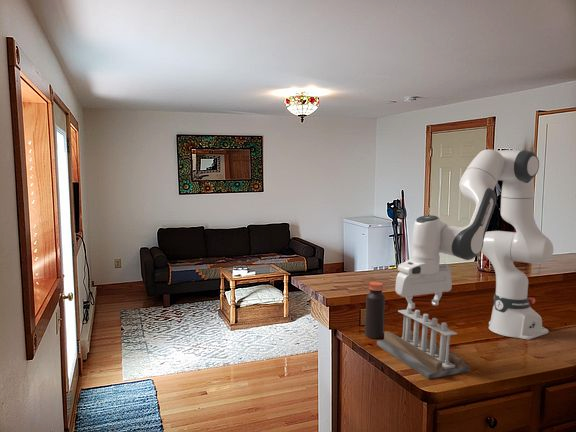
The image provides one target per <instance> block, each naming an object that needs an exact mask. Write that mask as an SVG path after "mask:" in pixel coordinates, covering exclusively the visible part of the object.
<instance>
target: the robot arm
mask: <svg viewBox="0 0 576 432" xmlns="http://www.w3.org/2000/svg"><path fill="white" fill-rule="evenodd" d="M539 169H540V161H539V157H538V156H537V155H536V153H535V152H533V151H530V150H525V149H524V150H517V149H503V150H498V149H497V150H495V149H492V148H489V149H487V148H486V149H484V150H481V151H479V153H477V155H476V156H475V157H474V158H473V159H472V161H471V162H470V163H469V165H468V166H467V168H466V169H465V170H464V173H463V174H462V176H461V178H460V179H459V183H458V184H459V187H458V188H459V190H460V192H461V194H462V195H463V197H464V198H465V199H466V200H468V201H469V202H470V203H472V204H474V205H475V208H474V211H473V214H472V217H471V218H470V222H469V224H467V225H465V226H458V225H457V226H456V225H451V224H447V223H445V222H443V221H442V220H440V217H439V216H436V215H421V216H418V217H417V218H416V219H415V221H414V224H413V227H412V234H411V235H412V236H411V243H412V244H411V245H412V252H411V258H409V259H408V260H407V259H406V260H405V261H404V262H402V263H399V264H397V265H398V266H397V270H398V271H399V272H398V273H397V275H396V278H395V286H394V287H395V288H394V289H395V293H396V295H398V296H399V297H402V298H404V297H405V299H406V301H407V306H408V308H410V309H412V310H413V309H415V308H416V303H415V302H413V300H412V299H414V298H413V297H414V296H421V295H422V296H423V295H429V294H430V295H431V294H434V296H433V299H431V305H432V306H435V307H436V306H439V301H440V299H441V297H442V296H443V293H444V292H445V293H447V292H450V291H451V290H452V287H453V286H452V285H453V283H452V282H453V281H452V273H451V271H452V267H451V266H450V265H449V264H448V263H440V259H441V258H440V257H441V256H440V255H441V254H444V255H448V256H452V257H457V258H460V259H462V260H464V261H465V260H466V261H470V260H473V259H474V258H476V257H477V256H478V255H479V254H480V253H482V255H484V256H485V257H486V258H487V259H488V260H489V262H490V263H491V264H492V267H493V270H494V272H495V292H494V295H493V306H492V311H491V316H490V320H489V321H488V329H489V331H491V332H492V333H495V334H497V335H499V336H505V337H508V338H509V337H510V338H518V339H524V340H532V339H535V338H537V337H541V336H543V335H546V334H549V333H550V331H549V329H548V328H545V327H544V326H543V319H542V317H541V315H540V314H539V313H538V312H537V311H536V310H534V309H533V308H532V307H531V304H532V305H533V304H535V303H536V299H535V298H534V297H528V289H529V278H528V277H527V275H526V274H525V272H523V271H522V270H520V269H518V268H517V267H516V266H515V265H514V262H520V263H525V264H526V263H527V264H544V263H547V262H548V261H549V260H550V259H551V258H552V257H553V254H554V245H553V242H552V240H551V239H550V238H549V237H547V236H546V235H545V234H544V233H543V232H542V231H541V230H540V228H539V226H538V225H537V223H536V220H535V215H534V214H535V212H534V202H535V200H534V199H535V185H534V178H535V177H536V175H537V174H538V171H539ZM499 181H502V185H501V193H500V194H501V195H500V216H501V218H502V220H503V221H505V222H506V223H508V224H510V225H512V227H513V228H514V229H515V231H503V230H491V231H490V230H489V231H487V230H488V227H489V225H490V221H491V218H492V215H493V213H494V210H495V208H496V204H497V194H496V191H495V190H494V189H495V188H496V185H497V184H498V182H499ZM440 253H441V254H440Z"/></svg>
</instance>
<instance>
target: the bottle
mask: <svg viewBox="0 0 576 432" xmlns="http://www.w3.org/2000/svg"><path fill="white" fill-rule="evenodd" d="M368 288H369V293H368V294H366V298H365V299H366V301H365V320H364V321H365V324H364V328H365V329H364V335H365V336H366V337H367V338H370V339H373V340H375V339H382V338H384V332H385V331H384V330H385V329H384V328H385V306H386V297H385V295H384V294H383V291H384V283H383V282H379V281H371V282H369V286H368Z"/></svg>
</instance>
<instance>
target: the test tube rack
mask: <svg viewBox="0 0 576 432" xmlns="http://www.w3.org/2000/svg"><path fill="white" fill-rule="evenodd" d="M397 312H398V313H400V314H402V315H403V322H402V323H403V325H402V336H401V337H402V339H404V340H405V341H407V342H409V343H411V344H412V345H414V346H416V347H417V348H419V349H421V350H422V351H424V352H426V353H428V354H429V355H431V356H433V357H434V358H436V359H438V360H439V361H441V362H442V369H450V368H455V365H454V364H452V363H450V362H449V361H448V356H449V351H450V341H451V336H455V335H458V332H456V331H453V330H452V329H449V328H448V323H447V322H445V321H444V322H443V321H442V322H441V324H439V323H438V321H439V320H438V318H436V317H432V319H430V318H429V317H430V316H429V314H428V313H423V315H421V311H420V310H419V309H415V310H414V311H413V309H410V308H408V305H407V307H406V309H400V310H399V309H398V310H397ZM412 319H413V320H414V321H413V341H412V340H411V339H410V332H411V330H412ZM420 324H422V327H421V328H422V329H421V336H422V341H421V345H419V344H418V337H419V335H420ZM428 328H430V341H431V342H430V350H428V349H426V348H427V339H428V333H429V332H428V331H429V329H428ZM405 329H406V330H405ZM437 333H440V335H439V337H440V339H439V346H440V351H439V356H438V355H437V354H435V352H436V344H437ZM445 349H446V360H445Z"/></svg>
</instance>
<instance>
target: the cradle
mask: <svg viewBox="0 0 576 432" xmlns="http://www.w3.org/2000/svg"><path fill="white" fill-rule="evenodd" d="M405 330H406V328H405ZM413 332H414V330H412V329H411V332H410V339H411V340H412V341H413ZM421 341H422V334H419V337H418V344H419V345H421ZM430 342H431V339H428V338H427V348H426V349H428V350H430ZM376 346H378V347H380V348H381V349H382V350H384V351H385V352H387V353H389V354H390V355H392V356H393V357H394V358H395V359H398V360H399V361H401V362H402V363H404V365H406V366H407V367H409V368H411V369H412V370H414V371H416V372H417V373H418V374H420V375H422V376H423V377H424V378H426V379H427V380H430V379H436V378H440V377H446V376H451V375H457V374H463V373H468V372H470V371H471V366H470V365H468V364H467V363H465V362H464V358H463V357H461V356H459V355H457V354H455V353H454V352H452V351H450V350H449V356H448V361H449V362H450V363H452V364H454V365H455V368H450V369H442V362H441V361H439V360H438V359H436V358H434V357H433V356H431V355H429V354H428V353H426V352H424V351H422V350H421V349H419V348H417V347H416V346H414V345H412V344H411V343H409V342H407V341H405V340H404V339H402V336H398V335H396V334H395V333H393V332H392V331H390V330H387V331H386V330H385V331H384V333H383V339H379V340H376ZM439 351H440V344H437V343H436V352H435V354H437V355H438V356H439ZM445 360H446V349H445Z"/></svg>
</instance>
